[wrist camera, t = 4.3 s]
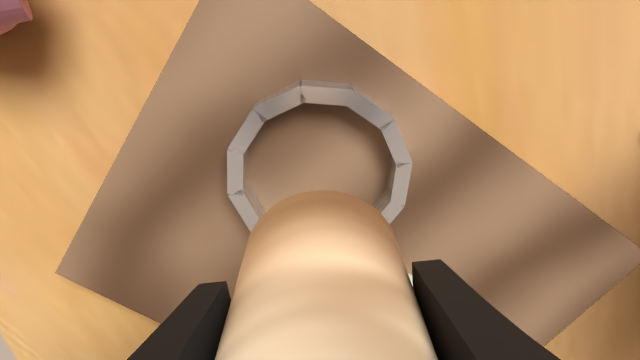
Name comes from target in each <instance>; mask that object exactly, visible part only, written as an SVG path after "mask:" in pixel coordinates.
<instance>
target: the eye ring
mask: <svg viewBox="0 0 640 360" xmlns="http://www.w3.org/2000/svg"><path fill="white" fill-rule="evenodd" d="M302 103H314V104H327V105H340V106H348V107H349V108H350V109H352V110H353V111H355V112H356V113H358V114H359V115H361V116H362V117H363V118H365V119H366V120H368V121H369V122H371V123H372V124H374V125H375V126H376V127H378V128H379V129H380V130H381V133H382V135H383V137H384V140H385V142H386V144H387V147H388V149H389V151H390V154H391V158H390V164H389V171H388V177H387V183H386V190H385V191H384V192H383V193H382V194H381V196H380V197H379V198H378V199H377V200H376V202H375V203H374V204H373V205H372V206H373V207H374V208H376V209H377V210H378V211H379V212H380V213H381V214H382V215H383V216H384V218H385V219H386V220H387V221H388V223H389V225H390V223H391V222H392V221H393V220H394V219H395V217H396V216H397V215H398V214H399V213H400V212H401V210H402V209H403V208H404V206H405V203H406V197H407V192H408V186H409V180H410V175H411V169H412V164H413V163H412V160H411V157H410V155H409V152H408V150H407V147H406V145H405V143H404V140H403V138H402V135H401V133H400V131H399V128H398V126H397V123H396V121H395V119H394V118H393V116H392V115H391V113H390V112H389V111H388V110H387V109H386V108H384V107H383V106H381V105H380V104H379V103H377V102H376V101H374V100H373V99H371V98H370V97H369V96H367V95H366V94H364V93H363V92H362V91H360V90H359V89H357V88H356V87H355V86H353V85H352V84H351V85H350V84H349V83H337V82H324V81H312V80H302V83H301V81H300V80H299V81H297V82H295V83H293V84H291V85H289V86H287V87H285V88H283V89H281V90H279V91H277V92H275V93H273V94H271V95H269V96H267V97H264V98H262V99H260V100H258V102H256V104H255V105H254V107H253V109H252V110H251V112H250V113H249V115H248V116H247V118H246V120H245V121H244V123H243V124H242V126H241V128H240V129H239V131H238V132H237V134H236V135H235V137H234V139H233V140H232V142H231V144H230V145H229V147H228V150H227V194H228V197H229V198H230V200H231V201H232V203H233V205H234V206H235V208H236V209H237V211H238V213H239V214H240V216H241V217H242V219H243V221H244V222H245V224H246V225H247V227H248V229H249V230H250V232H251V231H252V229H253V227H254V226H255V224H256V223H257V221H258V220H259V219H260V217H261V216H262V215H263V214H264V213H265V212H266V210H265V209H264V207H263V205H262V204H261V202H260V200H259V199H258V197H257V195H256V194H255V192H254V190H253V189H252V187H251V185H250V184H249V182H248V180H247V177H248V147H249V145H250V143H251V142H252V140H253V139H254V137H255V136H256V134H257V133H258V131H259V130H260V128H261V127H262V125H263V124H264V122H265V121H266V120H268V119H271V118H273V117H275V116H277V115H279V114H281V113H283V112H285V111H287V110H289V109H291V108H294V107H296V106H298V105H300V104H302Z"/></svg>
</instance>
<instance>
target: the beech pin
mask: <svg viewBox="0 0 640 360" xmlns="http://www.w3.org/2000/svg"><path fill="white" fill-rule="evenodd" d="M215 360H438V358H437V355H436V352H435V350H434V347H433V344H432V341H431V338H430V335H429V332H428V329H427V327H426V324H425V321H424V318H423V315H422V312H421V309H420V306H419V304H418V301H417V298H416V295H415V292H414V289H413V286H412V284H411V281H410V278H409V275H408V272H407V269H406V266H405V263H404V261H403V258H402V255H401V252H400V249H399V246H398V243H397V240H396V238H395V235H394V232H393V230H392V228H391V226H390V225H389V223H388V221H387V220H386V219H385V218H384V216H383V215H382V214H381V213H380V212H379V211H378V210H377V209H376V208H374V207H373V206H372V205H370V204H369V203H367V202H365V201H364V200H362V199H360V198H358V197H355V196H353V195H350V194H346V193H342V192H337V191H330V190H316V191H308V192H303V193H299V194H296V195H293V196H290V197H288V198H286V199H284V200H282V201H280V202H278V203H277V204H275V205H274V206H272V207H271V208H270V209H268V210H267V211H266V212H265V213H264V214H263V215H262V216H261V217H260V219H259V220H258V221H257V223H256V224H255V226H254V227H253V229H252V231H251V234H250V236H249V239H248V242H247V246H246V249H245V253H244V257H243V260H242V264H241V267H240V271H239V275H238V278H237V282H236V285H235V289H234V292H233V296H232V300H231V303H230V307H229V310H228V314H227V318H226V321H225V325H224V328H223V332H222V335H221V339H220V343H219V346H218V350H217V353H216V357H215Z"/></svg>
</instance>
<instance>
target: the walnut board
mask: <svg viewBox="0 0 640 360" xmlns="http://www.w3.org/2000/svg"><path fill="white" fill-rule="evenodd" d="M299 80H300V81H301V83H302V80H312V81H324V82H337V83H349V84H350V85H351V84H352V85H353V86H355V87H356V88H357V89H359V90H360V91H362V92H363V93H364V94H366V95H367V96H369V97H370V98H371V99H373V100H374V101H376V102H377V103H379V104H380V105H381V106H383V107H384V108H386V109H387V110H388V111H389V112H390V113H391V115H392V116H393V118H394V119H395V121H396V123H397V126H398V128H399V131H400V133H401V135H402V138H403V140H404V143H405V145H406V147H407V150H408V152H409V155H410V157H411V160H412V163H413V164H412V169H411V175H410V180H409V186H408V192H407V197H406V203H405V206H404V208H403V209H402V210H401V212H400V213H399V214H398V215H397V216H396V217H395V219H394V220H393V221H392V222H391V223H390V226H391V228H392V230H393V232H394V235H395V238H396V240H397V243H398V246H399V249H400V252H401V255H402V258H403V261H404V263H405V266H406V269H407V272H408V274H410V275H412V262H417V261H427V260H436V259H441V260H442V261H443V262H444V263H446V264H447V265H448V266H449V267H450V268H451V269H452V270H453V271H454V272H455V273H456V274H458V275H459V276H460V277H461V278H462V279H463V280H464V281H465V282H466V283H467V284H468V285H470V286H471V287H472V288H473V289H474V290H475V291H476V292H477V293H479V294H480V295H481V296H482V297H483V298H484V299H485V300H486V301H488V302H489V303H490V304H491V305H492V306H493V307H495V308H496V309H497V310H498V311H499V312H501V313H502V314H503V315H504V316H505V317H507V318H508V319H509V320H510V321H511V322H513V323H514V324H515V325H516V326H517V327H519V328H520V329H521V330H522V331H524V332H525V333H526V334H527V335H529V336H530V337H531V338H532V339H534V340H535V341H536V342H538V343H539V344H540V345H542V346H543V347H544V346H545V345H546V344H547V343H548V342H550V341H551V340H552V339H553V338H554V337H555V336H557V335H558V334H559V333H560V332H561V331H562V330H564V329H565V328H566V327H567V326H568V325H569V324H571V323H572V322H573V321H574V320H575V319H576V318H578V317H579V316H580V315H581V314H582V313H583V312H585V311H586V310H587V309H588V308H589V307H590V306H592V305H593V304H594V303H595V302H596V301H597V300H599V299H600V298H601V297H602V296H603V295H604V294H606V293H607V292H608V291H609V290H610V289H611V288H612V287H614V286H615V285H616V284H617V283H618V282H619V281H621V280H622V279H623V278H624V277H625V276H626V275H628V274H629V273H630V272H631V271H632V270H633V269H635V268H636V267H637V266H638V265H639V264H640V247H639V246H637V245H636V244H635V243H633V242H632V241H631V240H629V239H628V238H627V237H625V236H624V235H623V234H621V233H620V232H618V231H617V230H616V229H614V228H613V227H612V226H610V225H609V224H608V223H606V222H605V221H604V220H602V219H601V218H600V217H598V216H597V215H596V214H594V213H593V212H592V211H590V210H589V209H588V208H586V207H585V206H584V205H582V204H581V203H580V202H578V201H577V200H576V199H574V198H573V197H572V196H570V195H569V194H568V193H566V192H565V191H564V190H562V189H561V188H559V187H558V186H557V185H555V184H554V183H553V182H551V181H550V180H549V179H547V178H546V177H545V176H543V175H542V174H541V173H539V172H538V171H537V170H535V169H534V168H533V167H531V166H530V165H529V164H527V163H526V162H525V161H523V160H522V159H521V158H519V157H518V156H517V155H515V154H514V153H513V152H511V151H510V150H509V149H507V148H506V147H505V146H503V145H502V144H500V143H499V142H498V141H496V140H495V139H494V138H492V137H491V136H490V135H488V134H487V133H486V132H484V131H483V130H482V129H480V128H479V127H478V126H476V125H475V124H474V123H472V122H471V121H470V120H468V119H467V118H466V117H464V116H463V115H462V114H460V113H459V112H458V111H456V110H455V109H454V108H452V107H451V106H450V105H448V104H447V103H445V102H444V101H443V100H441V99H440V98H439V97H437V96H436V95H435V94H433V93H432V92H431V91H429V90H428V89H427V88H425V87H424V86H423V85H421V84H420V83H419V82H417V81H416V80H415V79H413V78H412V77H411V76H409V75H408V74H407V73H405V72H404V71H403V70H401V69H400V68H399V67H397V66H396V65H395V64H393V63H392V62H391V61H389V60H388V59H386V58H385V57H384V56H382V55H381V54H380V53H378V52H377V51H376V50H374V49H373V48H372V47H370V46H369V45H368V44H366V43H365V42H364V41H362V40H361V39H360V38H358V37H357V36H356V35H354V34H353V33H352V32H350V31H349V30H348V29H346V28H345V27H344V26H342V25H341V24H340V23H338V22H337V21H336V20H334V19H333V18H332V17H330V16H329V15H327V14H326V13H325V12H323V11H322V10H321V9H319V8H318V7H317V6H315V5H314V4H313V3H311V2H310V1H309V0H199V2H198V4H197V6H196V8H195V10H194V12H193V14H192V16H191V17H190V19H189V21H188V23H187V25H186V27H185V29H184V31H183V33H182V34H181V36H180V38H179V40H178V42H177V44H176V46H175V48H174V50H173V51H172V53H171V55H170V57H169V59H168V61H167V63H166V65H165V67H164V68H163V70H162V72H161V74H160V76H159V78H158V80H157V82H156V84H155V85H154V87H153V89H152V91H151V93H150V95H149V97H148V99H147V101H146V102H145V104H144V106H143V108H142V110H141V112H140V114H139V116H138V118H137V119H136V121H135V123H134V125H133V127H132V129H131V131H130V133H129V135H128V136H127V138H126V140H125V142H124V144H123V146H122V148H121V150H120V152H119V153H118V155H117V157H116V159H115V161H114V163H113V165H112V167H111V169H110V170H109V172H108V174H107V176H106V178H105V180H104V182H103V184H102V186H101V187H100V189H99V191H98V193H97V195H96V197H95V199H94V201H93V203H92V204H91V206H90V208H89V210H88V212H87V214H86V216H85V218H84V220H83V221H82V223H81V225H80V227H79V229H78V231H77V233H76V235H75V237H74V238H73V240H72V242H71V244H70V246H69V248H68V250H67V252H66V254H65V255H64V257H63V259H62V261H61V263H60V265H59V267H58V269H57V271H56V272H55V273H56V274H58V275H60V276H63V277H65V278H67V279H69V280H71V281H73V282H75V283H77V284H79V285H81V286H83V287H86V288H88V289H90V290H92V291H94V292H96V293H98V294H100V295H102V296H104V297H107V298H109V299H111V300H113V301H115V302H117V303H119V304H121V305H123V306H125V307H127V308H130V309H132V310H134V311H136V312H138V313H140V314H142V315H144V316H146V317H148V318H151V319H153V320H155V321H157V322H159V323H161V324H162V323H163V322H164V320H165V319H166V318H167V317H168V316H169V315H170V314H171V313H172V312H173V311H174V310H175V309H176V308H177V306H178V305H179V304H180V303H181V302H182V301H183V300H184V299H185V298H186V297H187V296H188V295H189V294H190V292H191V291H192V290H193V289H194V288H195V287H196V286H197V285H198V284H201V283H211V282H221V281H227V285H228V289H229V293H230V298H231V300H232V296H233V292H234V289H235V285H236V282H237V278H238V275H239V271H240V267H241V264H242V260H243V257H244V253H245V249H246V246H247V242H248V239H249V236H250V234H251V232H250V230H249V229H248V227H247V225H246V224H245V222H244V221H243V219H242V217H241V216H240V214H239V213H238V211H237V209H236V208H235V206H234V205H233V203H232V201H231V200H230V198H229V197H228V194H227V150H228V147H229V145H230V144H231V142H232V140H233V139H234V137H235V135H236V134H237V132H238V131H239V129H240V128H241V126H242V124H243V123H244V121H245V120H246V118H247V116H248V115H249V113H250V112H251V110H252V109H253V107H254V105H255V104H256V102H258V100H260V99H262V98H264V97H267V96H269V95H271V94H273V93H275V92H277V91H279V90H281V89H283V88H285V87H287V86H289V85H291V84H293V83H295V82H297V81H299ZM390 158H391V154H390V151H389V149H388V147H387V144H386V142H385V140H384V137H383V135H382V133H381V130H380V129H379V128H378V127H376V126H375V125H374V124H372V123H371V122H369V121H368V120H366V119H365V118H363V117H362V116H361V115H359V114H358V113H356V112H355V111H353V110H352V109H350V108H349V107H348V106H340V105H327V104H314V103H302V104H300V105H298V106H296V107H294V108H291V109H289V110H287V111H285V112H283V113H281V114H279V115H277V116H275V117H273V118H271V119H268V120H266V121H265V122H264V124H263V125H262V127H261V128H260V130H259V131H258V133H257V134H256V136H255V137H254V139H253V140H252V142H251V143H250V145H249V147H248V177H247V180H248V182H249V184H250V185H251V187H252V189H253V190H254V192H255V194H256V195H257V197H258V199H259V200H260V202H261V204H262V205H263V207H264V209H265V210H266V211H267V210H268V209H270V208H271V207H272V206H274V205H275V204H277V203H278V202H280V201H282V200H284V199H286V198H288V197H290V196H293V195H296V194H299V193H303V192H308V191H316V190H330V191H337V192H342V193H346V194H350V195H353V196H355V197H358V198H360V199H362V200H364V201H365V202H367V203H369V204H370V205H373V204H374V203H375V202H376V200H377V199H378V198H379V197H380V196H381V194H382V193H383V192H384V191H385V190H386V183H387V177H388V171H389V164H390Z"/></svg>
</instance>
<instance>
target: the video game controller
mask: <svg viewBox="0 0 640 360" xmlns="http://www.w3.org/2000/svg"><path fill="white" fill-rule="evenodd" d="M32 20H33V15H32V12H31V8H30V5H29V2H28V0H0V35H2V34H4V33H6V32H8V31H9V30H11V29H13V28H14V27H15V26H16V25H17V24H18V23H21V22H26V21H32Z"/></svg>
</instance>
